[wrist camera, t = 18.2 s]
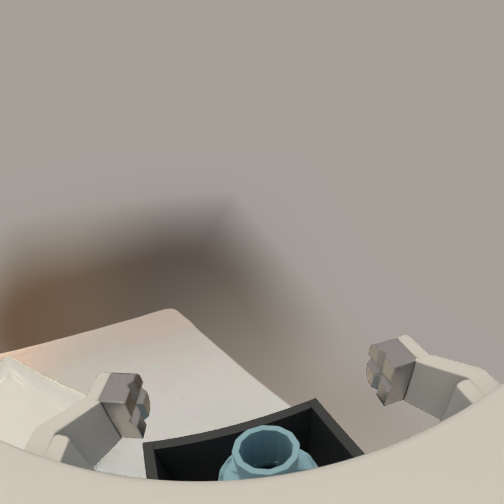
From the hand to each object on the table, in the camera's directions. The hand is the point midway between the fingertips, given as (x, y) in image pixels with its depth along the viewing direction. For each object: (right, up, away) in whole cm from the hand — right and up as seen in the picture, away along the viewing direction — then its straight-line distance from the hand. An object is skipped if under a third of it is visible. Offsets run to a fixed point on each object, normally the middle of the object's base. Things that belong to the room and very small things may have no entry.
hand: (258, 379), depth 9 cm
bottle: (+1, -17, +5) cm, 18 cm away
